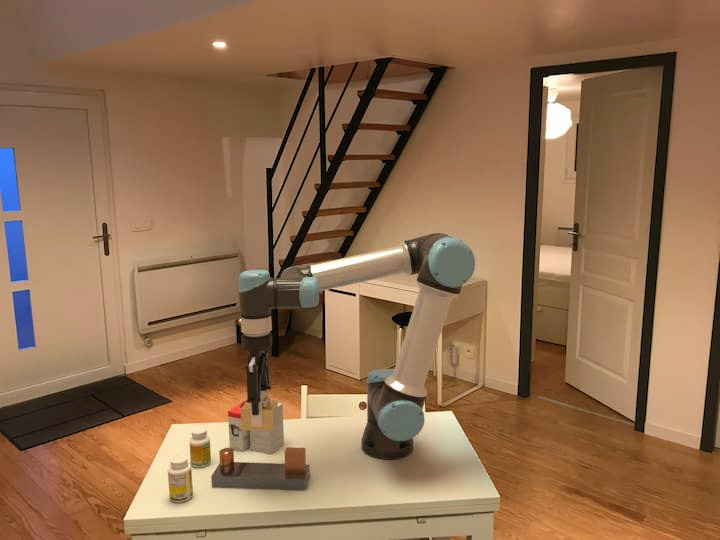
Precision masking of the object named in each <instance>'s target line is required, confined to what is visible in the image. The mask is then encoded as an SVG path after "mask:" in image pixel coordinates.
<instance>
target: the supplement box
mask: <svg viewBox="0 0 720 540" xmlns="http://www.w3.org/2000/svg"><path fill="white" fill-rule="evenodd" d="M284 433H285V431H284V405H283V403H282V402H281V403H280V402H278V422H277V424H276V426H275V428H274V430H273V431H264V430H250V447H249V448H250V450H252V451H256V452H261V453H265V454H269V455H270V454H271V455H272V454H273V453H275V451H277V450H278V449H280V448H281V447H282V446H283V445H284V444H285V435H284Z"/></svg>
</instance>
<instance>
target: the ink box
mask: <svg viewBox="0 0 720 540" xmlns="http://www.w3.org/2000/svg"><path fill="white" fill-rule="evenodd" d="M246 400H247V399H246ZM246 400H243V402H241V403H239V404H237V405H236V406H234V407H233V408H231V409H229V410H228V411H227V416H228V418H227V420H228V421H227V422H228V436H229V437H228V438H229V439H228V440H229V442H228V443H229V448H232V449H233V450H234V451H235V450H236V451H240V452H245V451H246V450H248V448H250V430H242V422H241V408H242V407H243V405H244V404H245V403H246Z"/></svg>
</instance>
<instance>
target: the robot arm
mask: <svg viewBox="0 0 720 540" xmlns="http://www.w3.org/2000/svg"><path fill="white" fill-rule="evenodd" d="M475 269H476V258H475V254H474V253H473V250H472V248H471V247H470V246H469V245H468V244H467V243H465V242H464V241H463V240H462V239H459V238H457V237H453V236H450V235H448V234H446V233H445V234H444V233H440V232H437V233H428V234H425V235H422V236H419V237H418V236H417V237H415V238H411V239H406V240H403V241H401V242H400V243H399V245H397V246H392V247H386V248H382V249H378V250H374V251H368V252H365V253H364V252H363V253H360V254H355V255H352V256H346V257H342V258H338V259H332V260H328V261H323V262H318V263H314V264H310V265H307V266H306V265H304V266H301V267H299V266H298V267H297V266H290V267H287V268H286V269H284V270H283V271H282V273H280V276H279V277H278V278H274V277H271V276H270V272H269V271H267V270H266V269H250V270H245V271H242V272H241V273H240V274H239V277H238V298H239V313H240V315H239V316H240V319H239V320H238V323H239V324H240V332H241V333H242V334H241V336H240V337H241V339H240V340H241V349H242V350H244V351H247V352H248V353H249V356H247V363H246V364H245V370H246V391H247V392H246V393H247V395H246V397H247V398H246V401H247V402H248V403H250V408H251V426H257V427H262V426H263V421H262V401H261V400H264V398H265V397H269V391H270V390H272V385H270V384H271V381H270V365H269V351H270V349H271V348H272V346H273V334H272V330H273V325H272V324H273V323H272V322H273V321H272V309H277V310H278V309H302V308H303V309H306V308H312V307H313V308H315V307H317V306H318V305H319V303H320V292H322V291H327V290H332V289H335V288H336V289H337V288H340V287H341V288H342V287H347V286H351V285H354V284H359V283H364V282H368V281H373V280H376V279H382V278H387V277H391V276H396V275H400V274H407V275H408V276H413V275H417V276H416V277H417V278H416V280H415V283H416V284H417V286H418V288H419V291H418V293H417V297H416V300H415V303H414V307H413V309H412V313H411V315H410V318H409V322H408V324H407V328H406V332H405V334H404V337H403V341H402V344H401V347H400V351H399V355H398V356H397V360H396V363H395V367H394V368H380V369H374V370H372V371H370V372H369V373H368V374H367V379H366V385H367V386H366V387H367V388H366V391H367V392H366V393H367V396H366V398H367V401H366V402H367V403H366V404H367V405H366V406H367V408H366V409H367V412H366V413H367V414H366V415H367V416H366V417H367V419H366V420H367V421H366V425H365V428H364V430H363V433H362V436H361V447H360V448H361V450H362V452H363V453H364V454H366V455H367V456H369V457H372V458H375V459H378V460H379V459H380V460H395V459H396V460H397V459H401V458H405V457H407V456H409V455H410V454H411V453H413V451H414V438H416V437H417V436H418V435H419V434H420V432H422V430H423V428H424V425H425V413H424V411H423V408H424V406H425V402H426V401H427V400H426V399H427V396H428V391H427V389H426V386H425V383H426V380H427V377H428V374H429V370H430V369H431V365H432V361H433V358H434V356H435V352H436V349H437V347H438V346H437V345H438V343H439V340H440V338H441V333H442V331H443V327H444V324H445V321H446V319H447V315H448V312H449V309H450V306H451V303H452V301H453V299H456V298H457V297H459V296H460V294H461V291H462V289H463V286H464V284H466V283H467V282H468V281H469V280H470V279H471V278H472V276H473V275H474V272H475Z"/></svg>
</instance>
